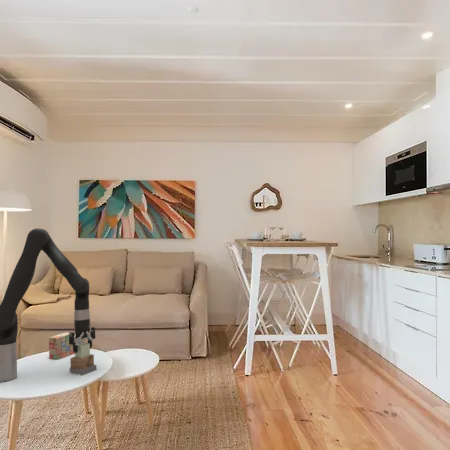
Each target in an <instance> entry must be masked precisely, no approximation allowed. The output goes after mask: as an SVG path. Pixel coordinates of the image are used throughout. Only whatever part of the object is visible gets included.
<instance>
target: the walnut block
mask: <svg viewBox="0 0 450 450" xmlns="http://www.w3.org/2000/svg"><path fill="white" fill-rule="evenodd" d="M92 365H95V354H93V353H90V356H87V357H84V358H78V357H75V356H72V357H70V367H71V369H87V368H88V367H90V366H92Z"/></svg>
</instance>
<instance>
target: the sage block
mask: <svg viewBox="0 0 450 450" xmlns="http://www.w3.org/2000/svg"><path fill="white" fill-rule="evenodd" d="M77 345H78V352H77V353H75V354H74V357H78V358H84V357H87V356H90V354H91V348H90V344H89V343H88V342H85V343H80V344H77Z"/></svg>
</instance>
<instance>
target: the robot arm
mask: <svg viewBox="0 0 450 450" xmlns="http://www.w3.org/2000/svg"><path fill="white" fill-rule="evenodd" d="M41 251H42V252H43V253H44V254H46V256H47V257H48V258H49V259H50V261H51V263H52V264H53V266H54V267H55V269H56V270H57V271H58V272H59V273H60V274H61V276H62V277H64V278H65V280H66V281H67V282H68V284H69V286H71V288H72V289H73V290H74V291H75V297H74V312H73V324H74V331H73V332H72V331H70V332H68V333H69V344H71V345H73V352H74V353H77V352H78V345H77V344H78V342H79V341H80V340H81V339H83V338H85V339H87V343H89V344H90V349H92V348H93V340H95V339H96V328H95V326H91V311H90V300H89V297H90V281H89V280H88V279H87V278H85V277H83V276H82V275H81V274H80V272H78V269H77V268H76V266H75V265H74V264H73V263H72V262H71V261H70V260H69V259H68V258H67V257H66V255H64V253H63V252H62V251H61V250H60V249H59V247H58V245H56V243H55V241H54V240H53V238H52V237H51V236H50V234H49V232H48V230H46V229H44V228H39V227H38V228H34V229H31V230H30V231H29V232H28V234H27V236H26V240H25V243H24V247H23V249H22V252H21V255H20V257H19V259H18V260H17V263H16V265H15V267H14V269H13V272H12V274H11V276H10V279H9V281H8V285H7V288H6V290H5V293H4V296H3V298H2V301H1V302H0V383H3V382H8V381H12V380H15V379H17V377H18V358H17V357H18V352H17V351H18V350H17V347H18V346H17V337H18V332H19V331H18V330H19V327H18V324H19V321H18V319H19V318H18V313H17V309H18V306H19V304H20V302H21V300H22V299H23V298H24V296H25V295H26V293H27V291H28V289H29V288H30V285H31V283H32V280H33V278H34V275H35V272H36V266H37V260H38V258H39V255H40V253H41ZM75 335H76V336H75ZM74 336H75V338H74ZM77 338H78V339H77Z"/></svg>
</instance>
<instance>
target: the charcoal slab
mask: <svg viewBox="0 0 450 450" xmlns="http://www.w3.org/2000/svg"><path fill="white" fill-rule="evenodd" d="M95 371H97V364H94V365H92V366H90V367H88V368H87V369H71V366H70V367H69V373H70V372H71V373H70V374H74V373H75V374H74V375H78V374H80V375H79V376H84V375H88V374H89V373H92V372H95Z"/></svg>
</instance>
